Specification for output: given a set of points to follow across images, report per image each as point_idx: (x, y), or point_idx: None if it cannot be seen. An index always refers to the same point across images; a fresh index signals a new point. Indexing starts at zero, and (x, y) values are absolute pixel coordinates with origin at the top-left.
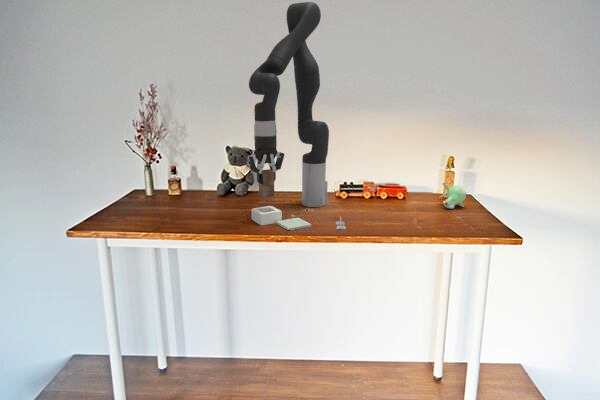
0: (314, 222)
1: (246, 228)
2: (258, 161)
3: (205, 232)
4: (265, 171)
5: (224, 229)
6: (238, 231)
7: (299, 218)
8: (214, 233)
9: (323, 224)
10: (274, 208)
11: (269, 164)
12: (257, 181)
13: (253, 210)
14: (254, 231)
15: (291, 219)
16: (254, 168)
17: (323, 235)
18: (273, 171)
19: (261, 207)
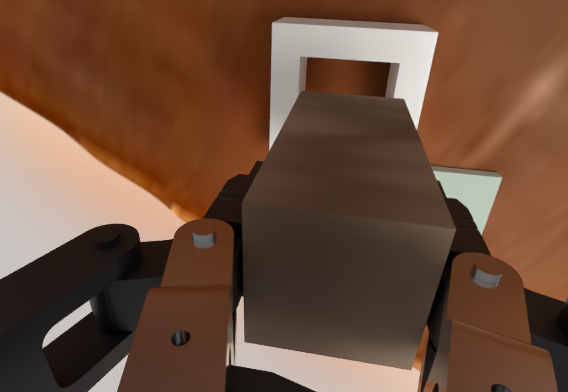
0: (523, 246)
1: (200, 140)
2: (152, 381)
3: (18, 84)
4: (301, 314)
5: (104, 94)
6: (156, 154)
7: (493, 193)
8: (55, 119)
9: (529, 285)
10: (408, 108)
11: (432, 375)
12: (235, 181)
13: (272, 58)
14: (217, 192)
15: (445, 183)
16: (85, 353)
17: (416, 356)
18: (403, 366)
19: (349, 34)
